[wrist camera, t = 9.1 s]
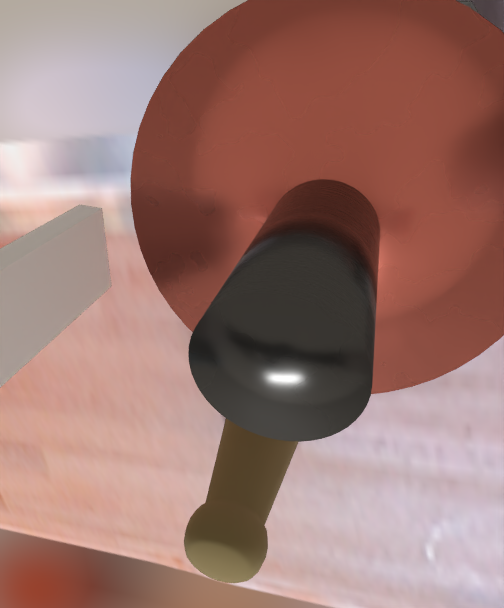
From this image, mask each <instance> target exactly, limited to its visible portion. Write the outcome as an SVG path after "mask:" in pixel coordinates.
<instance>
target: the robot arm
mask: <svg viewBox="0 0 504 608" xmlns="http://www.w3.org/2000/svg"><path fill="white" fill-rule="evenodd" d="M111 286H112V285H111V277H110V269H109V261H108V253H107V245H106V237H105V228H104V220H103V212H102V208H97V207H91V206H85V205H78V206H76V207H74V208H73V209H71V210H69V211H67V212H65V213H64V214H62V215H60V216H58V217H56V218H55V219H53V220H51V221H49V222H47V223H46V224H44V225H42V226H40V227H38V228H37V229H35V230H33V231H31V232H29V233H28V234H26V235H24V236H22V237H20V238H19V239H17V240H15V241H13V242H11V243H10V244H8V245H6V246H4V247H2V248H1V249H0V387H1V386H3V385H4V384H5V383H6V382H7V381H8V380H9V379H10V378H11V377H12V376H14V375H15V374H16V373H17V372H18V371H19V370H20V369H21V368H22V367H23V366H25V365H26V364H27V363H28V362H29V361H30V360H31V359H32V358H33V357H34V356H36V355H37V354H38V353H39V352H40V351H41V350H42V349H43V348H44V347H45V346H46V345H48V344H49V343H50V342H51V341H52V340H53V339H54V338H55V337H56V336H57V335H59V334H60V333H61V332H62V331H63V330H64V329H65V328H66V327H67V326H68V325H70V324H71V323H72V322H73V321H74V320H75V319H76V318H77V317H78V316H79V315H81V314H82V313H83V312H84V311H85V310H86V309H87V308H88V307H89V306H90V305H91V304H93V303H94V302H95V301H96V300H97V299H98V298H99V297H100V296H101V295H102V294H104V293H105V292H106V291H107V290H108V289H109V288H110V287H111Z"/></svg>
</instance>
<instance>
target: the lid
mask: <svg viewBox="0 0 504 608" xmlns="http://www.w3.org/2000/svg"><path fill="white" fill-rule="evenodd" d="M131 205H132V212H133V219H134V226H135V230H136V234H137V238H138V241H139V245H140V249H141V252H142V254H143V257H144V259H145V262H146V264H147V267H148V269H149V272H150V274H151V275H152V277H153V279H154V281H155V283H156V285H157V287H158V289H159V291H160V292H161V294H162V295H163V297H164V298H165V299H166V301H167V302H168V304H169V305H170V307H171V308H172V310H173V311H174V312H175V313H176V314H177V316H178V317H179V318H180V319H181V320H182V322H183V323H184V324H185V325H186V326H187V327H188V328H189V329H190V330H191V331H192V332H193V334H192V336H191V340H190V344H189V364H190V368H191V372H192V375H193V378H194V380H195V382H196V384H197V386H198V388H199V390H200V391H201V393H202V394H203V396H204V397H205V398H206V400H207V401H208V402H209V403H210V404H211V405H212V406H213V407H214V408H215V409H216V410H217V411H218V412H219V413H220V414H221V415H223V416H224V417H225V418H227V419H228V420H230V421H231V422H233V423H234V424H236V425H238V426H239V427H241V428H243V429H245V430H247V431H250V432H252V433H255V434H257V435H261V436H264V437H267V438H272V439H276V440H283V441H311V440H317V439H322V438H325V437H328V436H331V435H333V434H336V433H338V432H340V431H342V430H343V429H345V428H347V427H348V426H349V425H351V424H352V423H353V422H354V421H355V420H356V419H357V418H358V417H359V416H360V415H361V413H362V412H363V410H364V409H365V407H366V405H367V403H368V401H369V398H370V396H371V394H375V393H384V392H390V391H395V390H399V389H404V388H408V387H412V386H415V385H418V384H421V383H424V382H427V381H430V380H433V379H435V378H438V377H440V376H442V375H444V374H446V373H448V372H450V371H453V370H455V369H457V368H459V367H460V366H462V365H464V364H465V363H467V362H468V361H470V360H472V359H473V358H475V357H477V356H478V355H480V354H481V353H482V352H484V351H485V350H486V349H487V348H489V347H490V346H491V345H492V344H494V343H495V342H496V341H498V340H499V339H500V338H501V337H502V336H503V335H504V33H503V32H502V31H501V30H500V29H499V28H497V27H496V26H495V25H493V24H492V23H490V22H489V21H488V20H486V19H485V18H484V17H482V16H481V15H480V14H478V13H477V12H476V11H474V10H473V9H471V8H470V7H468V6H466V5H464V4H462V3H460V2H458V1H456V0H248V1H246V2H244V3H242V4H240V5H239V6H237V7H235V8H233V9H231V10H229V11H228V12H227V13H225V14H224V15H223V16H221V17H220V18H219V19H217V20H216V21H215V22H213V23H212V24H211V25H209V26H208V27H206V28H205V29H204V30H203V31H202V32H201V33H200V34H199V35H198V36H197V37H196V38H195V39H194V40H193V41H192V42H191V43H190V44H189V45H188V46H187V47H186V48H185V49H184V50H183V51H182V52H181V53H180V54H179V56H178V57H177V58H176V60H175V61H174V62H173V64H172V65H171V67H170V68H169V69H168V70H167V72H166V73H165V74H164V76H163V77H162V79H161V81H160V83H159V85H158V86H157V88H156V90H155V92H154V94H153V96H152V97H151V99H150V101H149V104H148V106H147V109H146V112H145V114H144V117H143V119H142V122H141V125H140V127H139V131H138V135H137V140H136V144H135V148H134V152H133V161H132V171H131Z"/></svg>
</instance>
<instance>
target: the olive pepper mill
mask: <svg viewBox="0 0 504 608" xmlns="http://www.w3.org/2000/svg"><path fill="white" fill-rule="evenodd" d="M298 442H299V441H283V440H276V439H272V438H267V437H264V436H261V435H257V434H255V433H252V432H250V431H247V430H245V429H243V428H241V427H239V426H238V425H236V424H234V423H233V422H231V421H230V420H228V419H227V418H226V421H225V425H224V429H223V433H222V437H221V441H220V445H219V449H218V454H217V458H216V462H215V466H214V470H213V474H212V478H211V482H210V486H209V491H208V495H207V499H206V503H205V504H203V505H201V506H200V507H199V508H198V509H197V510H196V511H195V512H194V514H193V515H192V516H191V518H190V520H189V523H188V525H187V528H186V532H185V538H184V546H185V551H186V555H187V558H188V559H189V560H190V562H191V563H192V564H193V566H194V567H195V568H197V569H198V570H199V571H200V572H201V573H203V574H205V575H206V576H208V577H210V578H213V579H215V580H217V581H222V582H226V583H239V582H244V581H248V580H249V579H251V578H252V577H253V576H254V575H255V574H256V573H258V571H259V570H260V568H261V566H262V564H263V562H264V560H265V558H266V553H267V549H268V539H267V530H266V528H265V526H264V525H265V522H266V520H267V517H268V515H269V513H270V510H271V508H272V505H273V503H274V500H275V498H276V495H277V493H278V490H279V488H280V486H281V483H282V481H283V478H284V476H285V473H286V471H287V468H288V466H289V464H290V461H291V459H292V456H293V454H294V451H295V449H296V446H297V444H298Z"/></svg>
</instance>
